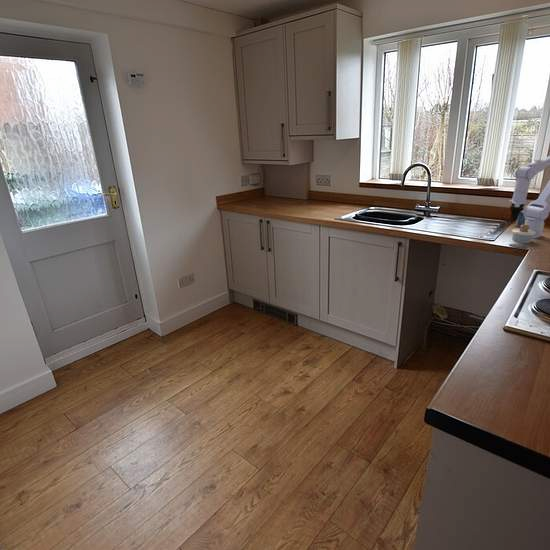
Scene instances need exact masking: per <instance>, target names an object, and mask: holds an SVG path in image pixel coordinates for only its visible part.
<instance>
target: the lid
mask: <svg viewBox="0 0 550 550" xmlns="http://www.w3.org/2000/svg"><path fill="white" fill-rule="evenodd" d="M511 233H515V234H519V235H535V233H536V232H535V231H532V230H529V225H525V224H522V225H521V226H520V227H519V228H513V229H512V230H511Z"/></svg>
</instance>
